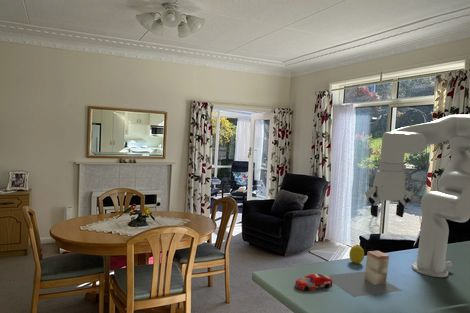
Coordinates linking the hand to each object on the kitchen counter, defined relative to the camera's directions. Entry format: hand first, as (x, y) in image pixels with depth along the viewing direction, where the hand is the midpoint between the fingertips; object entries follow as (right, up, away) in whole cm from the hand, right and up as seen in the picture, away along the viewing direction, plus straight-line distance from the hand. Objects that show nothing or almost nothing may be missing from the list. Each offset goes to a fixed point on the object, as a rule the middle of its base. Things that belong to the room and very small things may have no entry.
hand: (386, 216), depth 127 cm
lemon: (-5, -22, +17) cm, 28 cm away
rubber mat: (-10, -23, -2) cm, 25 cm away
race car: (-27, -23, -7) cm, 36 cm away
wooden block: (-4, -23, 0) cm, 23 cm away
